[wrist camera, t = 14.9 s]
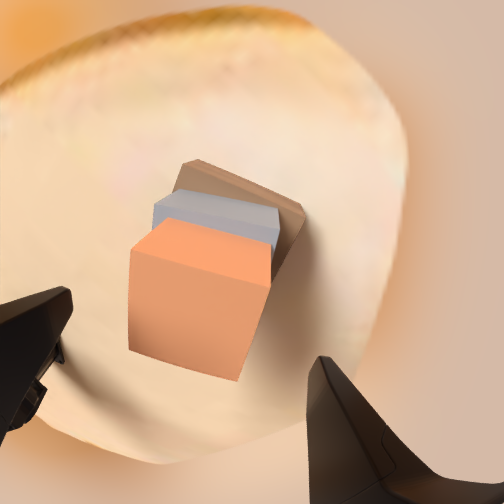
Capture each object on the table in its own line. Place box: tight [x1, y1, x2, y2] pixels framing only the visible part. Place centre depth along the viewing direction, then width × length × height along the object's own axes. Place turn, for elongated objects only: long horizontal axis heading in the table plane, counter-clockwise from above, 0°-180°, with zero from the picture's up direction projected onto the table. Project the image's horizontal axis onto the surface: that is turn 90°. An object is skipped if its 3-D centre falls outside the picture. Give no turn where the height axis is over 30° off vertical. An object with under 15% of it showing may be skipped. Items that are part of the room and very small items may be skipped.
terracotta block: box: [128, 217, 271, 381], centre depth 12 cm, size 5×5×4 cm
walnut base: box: [172, 159, 306, 283], centre depth 19 cm, size 8×8×4 cm
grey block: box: [152, 189, 280, 263], centre depth 16 cm, size 6×6×4 cm
